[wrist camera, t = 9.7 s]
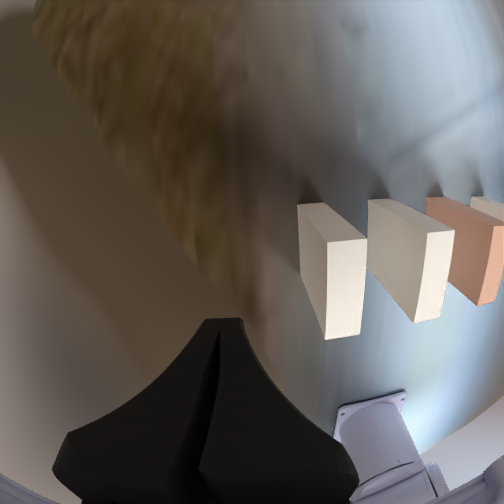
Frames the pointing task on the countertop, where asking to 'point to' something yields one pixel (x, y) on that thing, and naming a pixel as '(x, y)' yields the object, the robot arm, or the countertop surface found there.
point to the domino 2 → (409, 256)
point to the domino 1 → (332, 268)
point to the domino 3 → (472, 248)
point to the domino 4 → (488, 209)
